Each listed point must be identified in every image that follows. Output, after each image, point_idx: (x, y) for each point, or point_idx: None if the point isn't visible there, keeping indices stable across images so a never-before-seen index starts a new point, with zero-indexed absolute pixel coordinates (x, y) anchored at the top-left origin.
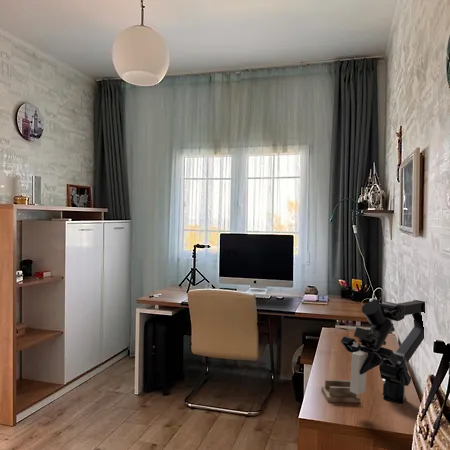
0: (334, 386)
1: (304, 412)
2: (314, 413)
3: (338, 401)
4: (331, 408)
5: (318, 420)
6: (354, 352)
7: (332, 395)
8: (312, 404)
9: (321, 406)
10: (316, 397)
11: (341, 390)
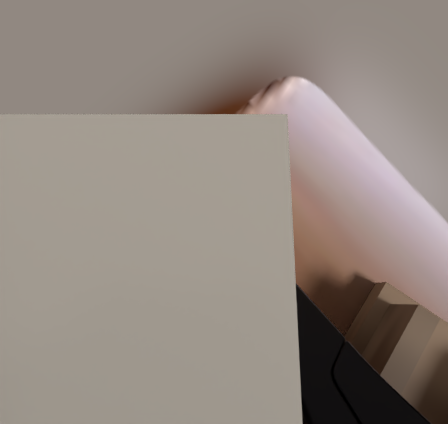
0: (424, 347)
1: (334, 107)
2: (307, 134)
3: (347, 332)
4: (307, 236)
5: (253, 103)
6: (266, 245)
7: (386, 315)
8: (382, 192)
9: (346, 212)
10: (440, 272)
11: (375, 367)
